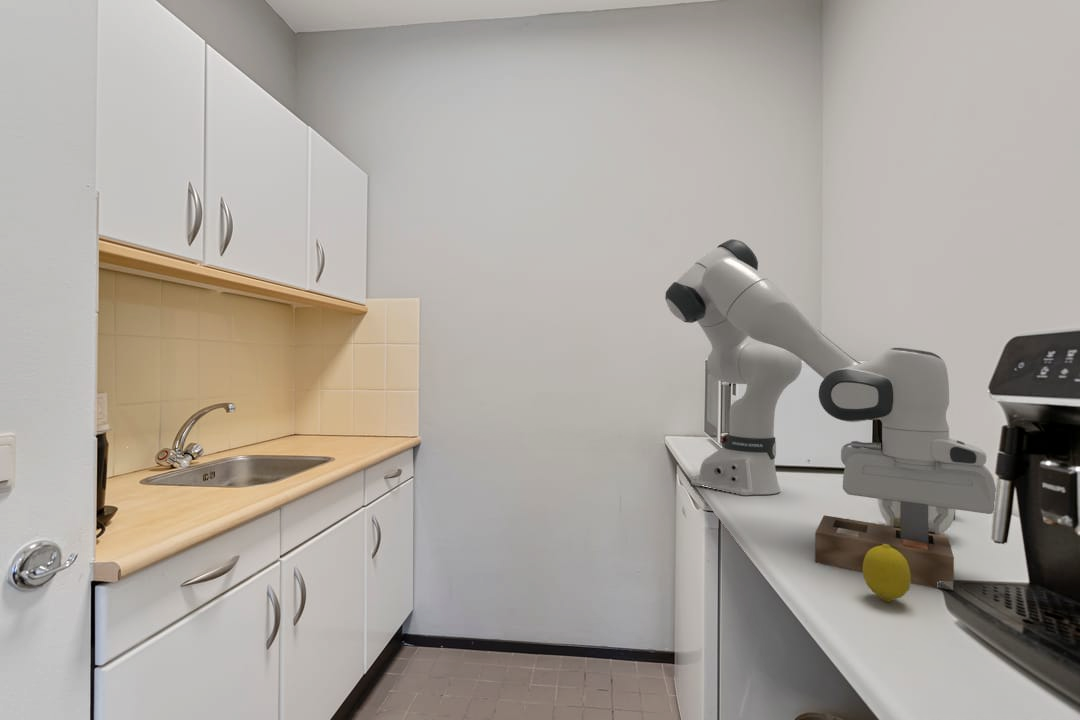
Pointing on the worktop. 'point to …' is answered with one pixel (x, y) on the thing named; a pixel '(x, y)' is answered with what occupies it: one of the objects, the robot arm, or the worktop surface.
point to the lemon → (886, 572)
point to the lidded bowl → (931, 514)
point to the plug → (914, 521)
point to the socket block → (854, 539)
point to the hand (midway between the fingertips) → (914, 530)
